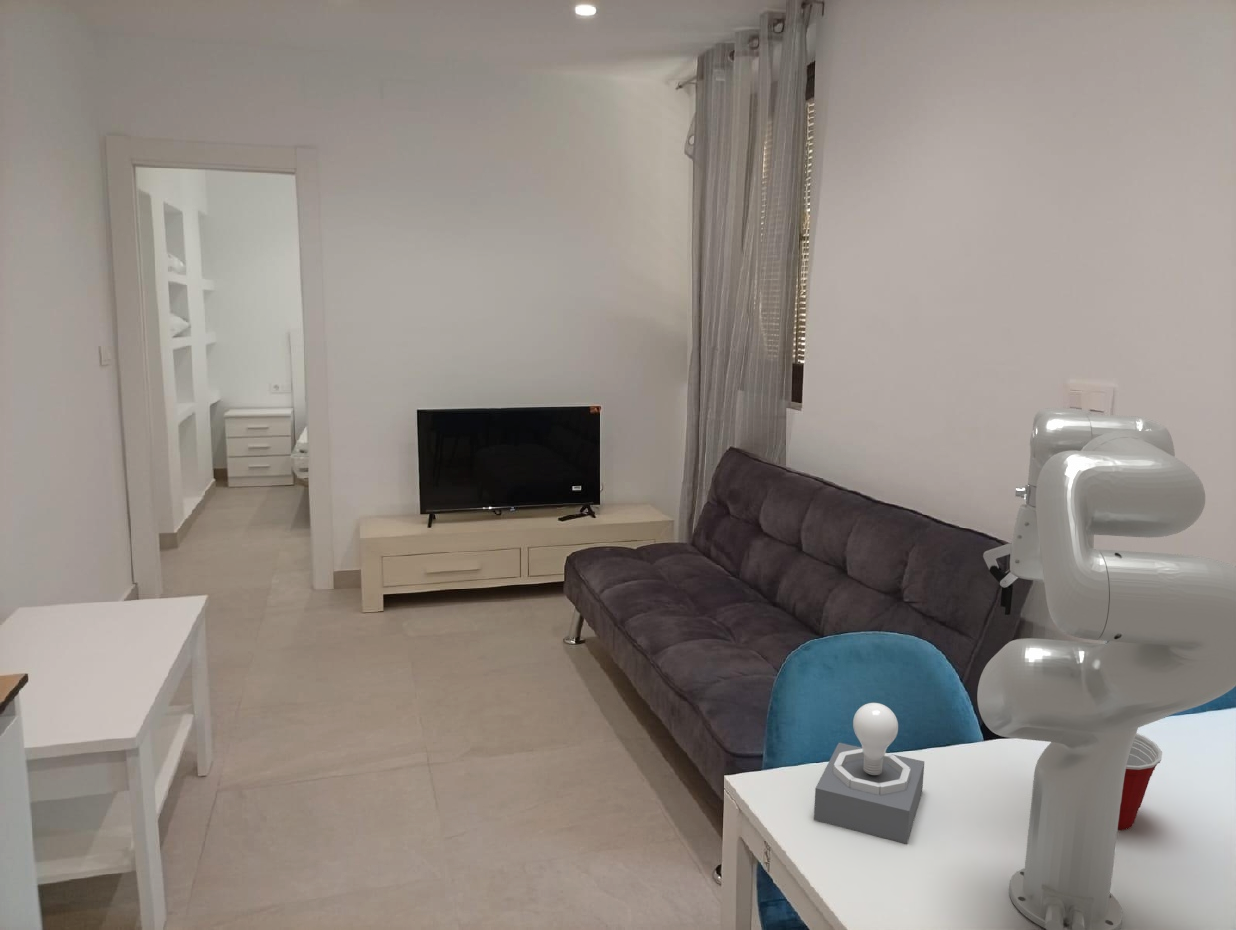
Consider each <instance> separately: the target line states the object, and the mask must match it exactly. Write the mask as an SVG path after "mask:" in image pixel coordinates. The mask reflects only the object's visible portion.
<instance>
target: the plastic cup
mask: <svg viewBox="0 0 1236 930" xmlns="http://www.w3.org/2000/svg"><path fill="white" fill-rule="evenodd" d="M1162 758H1163V751H1162V749H1161V748H1160V746H1159V745H1158V744H1157V743H1155V742H1154V741H1153V740H1151V739H1150V738H1148V737H1147V736H1145V735H1142V734H1140V733H1136V735H1135V738H1134V741H1133V744H1132V747H1131V750H1130V753H1129V757H1128V761H1127V766H1126V771H1125V776H1124V783H1123V790H1122V799H1121V804H1120V813H1119V821H1118V830H1119V831H1124V830H1129V829H1131V828H1132V827H1133V825H1134V824H1135V822H1136V818H1137V816H1138V812H1139V810H1140V808H1141V807H1142V803H1143V800H1144V798H1145V794H1146V793H1147V792H1146V791H1147V789H1148V785H1149V782H1150V779H1151V777H1152V776H1153V773H1154V771H1155V769H1156V767H1157V765H1158V764H1160V763H1161V761H1162ZM1118 830H1117V831H1118Z"/></svg>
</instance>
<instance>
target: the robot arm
mask: <svg viewBox="0 0 1236 930" xmlns="http://www.w3.org/2000/svg"><path fill="white" fill-rule="evenodd" d="M1029 452H1030V453H1029V454H1030V457H1029V466H1028V467H1029V469H1028V476H1027V477H1028V478H1027V484H1025V485H1024V486H1021V487H1020V486H1015V487H1016V488H1015V497H1017V498H1018V497H1019V498H1020V499H1023V500H1024V501H1025V503H1021V505H1020V506H1019V509H1018V512H1017V514H1016V519H1015V523H1014V526H1013V527H1014V528H1013V534H1012V540H1011V541H1012V542H1010V543H1006V544H1004V545H1000V546H998V547H995V548H994V547H993V548H991V549H988V550H986V551H984V552H983V555H982V557H983V559H984V562H985V564H986V566H987V568H988V570H989V573H990V574H991V575H992V577H994V579H995V580H996V581H997V582H998V583H999V585H1000V586H1001V595H1000V604H999V605H1000V606H999V607H1001V608H1004V615H1005V616H1009V615H1011V612H1012V606H1013V593H1014V584H1013V583H1014V582H1015V581H1016V580H1017V579H1023V580H1029V581H1035V582H1043V583H1044V592H1045V600H1046V604H1047V609H1048V613H1049V616H1050V619H1051V620H1052V621H1053V625H1055V626H1056V628H1057V629H1058V630H1060V631H1061V632H1062V633H1064V634H1066V635H1069V636H1070V637H1074V638H1078V639H1083V640H1090V641H1105V642H1107V643H1098V642H1085V641H1072V640H1061V639H1060V640H1059V639H1050V638H1049V639H1048V638H1047V639H1046V638H1031V637H1029V638H1026V637H1025V638H1017V639H1014V640H1011V641H1008V643H1006V644H1005V645H1004V646H1003V647H1002V648H1000V649H999V651H997V652H996V653H995V654H994V656H993V657H991V659H990V660H989V661H988V662H987V663H986V664H985V667H984V668H983V670H982V672H981V675H980V678H979V681H978V684H977V685H978V686H977V694H976V695H977V697H976V698H977V708H978V711H979V714H980V716H981V719H982V721H983V723H984V724H985V726H986V727H987V728H988V729H989V731H991V732H992V733H994V734H995V735H998V736H1000V737H1004V738H1008V739H1017V740H1018V739H1019V740H1029V741H1040V742H1048V743H1049V744H1048V745H1047V747H1045V748H1044V750H1043V751H1042V753H1040V756H1039V757H1038V759H1037V762H1036V764H1035V768H1034V770H1033V771H1034V772H1033V780H1032V790H1031V799H1030V809H1029V810H1030V811H1029V822H1028V829H1027V842H1026V849H1025V850H1026V851H1025V861H1024V868H1022V869H1019V870H1017V871H1016V872H1015V873H1014V874H1013V875H1012V876H1011V878H1010V880H1009V887H1008V892H1009V893H1008V895H1009V897H1010V900H1011V902H1012V903H1013V905H1014V906H1015V907H1016V909H1017V910H1018V911H1019V912H1020V913H1021V914H1022V915H1024V917H1026V918H1028V919H1029V920H1030V921H1032V922H1033V923H1034V924H1036V925H1038V926H1039V927H1041V928H1043V929H1045V930H1120V929H1121V927H1122V924H1123V911H1122V910H1123V909H1122V907H1121V905H1120V903H1119V901H1118V900H1117V899H1116V897H1115V896H1114V895H1113V894H1112V893H1111V889H1112V888H1111V887H1112V880H1113V879H1112V878H1113V872H1114V860H1115V855H1116V854H1115V853H1116V844H1117V838H1118V837H1117V836H1118V821H1119V813H1120V804H1121V799H1122V790H1123V783H1124V776H1125V771H1126V766H1127V761H1128V757H1129V753H1130V750H1131V747H1132V744H1133V741H1134V738H1135V735H1136V733H1137V732H1138V730H1139V728H1141V727H1144V726H1146V725H1149V724H1151V723H1154V722H1157V721H1160V720H1162V719H1165V718H1167V717H1169V716H1171V715H1173V714H1174V715H1175V714H1178V713H1181V712H1185V711H1187V710H1190V709H1194V708H1197V707H1199V706H1200V707H1201V706H1202V705H1204V704H1207V703H1210V702H1212V701H1214V700H1215V699H1216V700H1217V699H1218V698H1220V697H1222V696H1224V695H1225V694H1227V693H1229V692H1230V691H1231V690H1233V689H1234V688H1235V687H1236V566H1235V565H1233V564H1231V563H1228V562H1225V561H1220V560H1218V559H1217V560H1216V559H1212V558H1208V557H1203V556H1198V555H1190V554H1181V553H1180V554H1179V553H1177V554H1176V553H1162V552H1161V553H1160V552H1147V551H1130V550H1128V551H1127V550H1113V549H1096V548H1094V546H1095V536H1109V537H1110V536H1111V537H1112V536H1113V537H1128V538H1147V539H1148V538H1163V537H1170V536H1173V535H1177V534H1179V533H1181V532H1183V531H1186V530H1187V529H1189V528H1190V527H1191V526H1193V525H1194V524H1195V523H1196V522H1197V521H1198V520H1199V518H1200V516H1201V515H1202V514H1203V511H1204V509H1205V506H1206V493H1205V487H1204V484H1203V483H1202V481H1201V479H1200V477H1199V476H1198V474H1196V472H1195V471H1194V470H1193V469H1192V468H1191V467H1190V466H1189V465H1188V464H1186V463H1185V462H1183V461H1182V460H1180V459H1179V458H1177V457H1176V456H1175V455H1176V454H1175V446H1174V441H1173V438H1172V436H1171V434H1170V431H1169V429H1168V428H1167V427H1166V426H1164V425H1162V424H1161V423H1158V422H1156V421H1154V420H1151V419H1150V418H1147V417H1140V416H1133V415H1117V414H1116V415H1114V414H1113V415H1109V414H1092V413H1091V412H1089V411H1087V410H1084V409H1077V408H1068V407H1067V408H1066V407H1051V408H1049V407H1048V408H1044V409H1041V410H1039V411H1037V412H1036V414H1035V415H1034V417H1033V424H1032V430H1031V434H1030V440H1029ZM1008 555H1010V557H1009V569H1008V570H1007V571H1004V570H1003V569H1002V568H1001V566H1000V565H998V562H997V559H999V558H1003V557H1005V556H1008Z"/></svg>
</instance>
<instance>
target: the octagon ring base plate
mask: <svg viewBox="0 0 1236 930" xmlns="http://www.w3.org/2000/svg"><path fill="white" fill-rule="evenodd" d="M882 763H883V764H882V773H881V774H879V775H875V776H872V775H869V774H868V773H866V772H865V771H864V770H863V767H864V754H863V751H862V746H855V745H851V744H848V743H842V742H838V744H837V745H836V747H835V749H834V751H833V753H832V755H831V757H830V759H829V761H828V763H827V765H826V766H825V769H824V771H823V772H822V775H821V777H820V779H819V780H818V782H817V784H816V787H814V788H815V789H814V791H815V793H814V812H813V820H814V821H817V822H821V823H825V824H829V825H832V826H837V827H839V828H844V829H848V830H851V831H856V832H860V833H863V834H867V835H872V836H875V837H879V838H882V839H886V840H890V841H894V842H898V843H902V844H906V845H908V841H909V839H910V834H911V831H912V828H913V825H914V822H915V818H916V814H917V810H918V807H919V805H920V801H921V798H920V797H922V793H923V786H924V785H923V784H924V774H925V772H924V771H925V760H920V759H915V758H910V757H906V756H902V755H897V754H892V753H888V752H886V753H885V755H884V757H883V762H882ZM913 821H914V822H913Z"/></svg>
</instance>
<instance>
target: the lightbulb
mask: <svg viewBox="0 0 1236 930" xmlns="http://www.w3.org/2000/svg"><path fill="white" fill-rule="evenodd" d="M852 727H853V731H854V733H855V736H856V737H857V740H858V741H859V742H860V745H861V748H862V751H863V754H864V767H863V770H864V771H865V772H866V773H868V774H869V775H872V776H875V775H879V774H881V773H882V764H883V763H882V762H883V757H884V755H885V753H887V749H888V748H889V746H890V745H891V744H892V743H893V742H894V740H895V739H896V738H897V736H898V732H899V722H898V718H897V717H896V714H895V713H894V712H893V710H891V708H889V707H888V706H887V705H884V704H882V703H879V702H868V703H866V704H863V705H862V706H859V708H858V709H857V711H856V712H855V714H854V716H853V720H852Z"/></svg>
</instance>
